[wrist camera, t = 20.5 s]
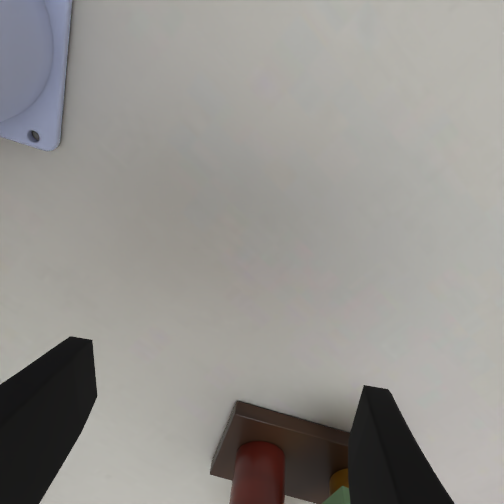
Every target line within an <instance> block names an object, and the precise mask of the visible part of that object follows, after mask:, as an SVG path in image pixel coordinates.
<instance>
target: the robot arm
mask: <svg viewBox="0 0 504 504" xmlns="http://www.w3.org/2000/svg"><path fill="white" fill-rule="evenodd" d="M71 10H72V0H0V137H2V138H6V139H9V140H12V141H15V142H18V143H21V144H25V145H28V146H31V147H34V148H37V149H41V150H44V151H52V150H54V149H56V148H57V147H58V146H59V144H60V137H61V126H62V114H63V103H64V91H65V79H66V68H67V56H68V45H69V33H70V21H71ZM32 130H33V131H35V132H37V133H38V135H39V138H40V139H39V140H37V139H35V138H34V137H33V135H32ZM96 398H97V388H96V377H95V366H94V355H93V344H92V340H89V339H83V338H77V337H71V336H70V337H69V338H67V339H66V340H64V341H63V342H61V343H60V344H58V345H57V346H56V347H54V348H53V349H51V350H50V351H48V352H47V353H46V354H44V355H43V356H41V357H40V358H38V359H37V360H36V361H34V362H33V363H31V364H30V365H28V366H27V367H26V368H24V369H23V370H21V371H20V372H18V373H17V374H15V375H14V376H12V377H11V378H9V379H8V380H7V381H5V382H4V383H2V384H1V385H0V504H39V503H40V501H41V500H42V498H43V496H44V495H45V493H46V491H47V490H48V488H49V486H50V485H51V483H52V481H53V479H54V478H55V476H56V474H57V473H58V471H59V469H60V468H61V466H62V464H63V463H64V461H65V459H66V458H67V456H68V454H69V453H70V451H71V449H72V447H73V446H74V444H75V442H76V441H77V439H78V437H79V435H80V434H81V432H82V430H83V428H84V425H85V423H86V421H87V419H88V417H89V414H90V412H91V410H92V407H93V405H94V403H95V400H96ZM348 484H349V494H350V504H454V502H453V501H452V499H451V498H450V496H449V494H448V493H447V491H446V490H445V488H444V487H443V485H442V484H441V482H440V481H439V479H438V477H437V476H436V474H435V473H434V471H433V469H432V468H431V466H430V464H429V463H428V461H427V459H426V458H425V456H424V454H423V452H422V451H421V449H420V447H419V446H418V444H417V442H416V440H415V438H414V437H413V435H412V433H411V431H410V429H409V427H408V426H407V424H406V422H405V420H404V418H403V416H402V414H401V412H400V410H399V408H398V406H397V404H396V402H395V400H394V398H393V396H392V394H391V393H390V391H389V390H388V389H383V388H377V387H371V386H365V385H364V387H363V390H362V394H361V397H360V401H359V404H358V408H357V411H356V415H355V418H354V422H353V425H352V429H351V432H350V436H349V439H348Z"/></svg>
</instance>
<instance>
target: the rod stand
mask: <svg viewBox="0 0 504 504" xmlns="http://www.w3.org/2000/svg"><path fill="white" fill-rule="evenodd" d="M349 436H350V433H348V432H344V431H341V430H337V429H333V428H330V427H326V426H323V425H319V424H316V423H312V422H309V421H305V420H302V419H298V418H295V417H291V416H288V415H284V414H281V413H277V412H274V411H270V410H267V409H263V408H260V407H256V406H253V405H249V404H246V403H242V402H239V401H237V402H236V404H235V407H234V409H233V411H232V414H231V416H230V419H229V421H228V423H227V426H226V428H225V431H224V433H223V436H222V438H221V440H220V443H219V445H218V448H217V450H216V453H215V455H214V457H213V460H212V464H211V469H210V475H214V476H218V477H221V478H225V479H229V480H232V488H231V496H230V503H229V504H284V495H287V496H291V497H294V498H298V499H302V500H305V501H309V502H313V503H316V504H322V503H323V502H324V501H325V500H326V499H328V498H329V497H330V496H331V495H332V494H333V493H335V492H336V491H337V490H338V489H339V488H340V487H341V486H345V487H347V488H349V484H348V439H349Z"/></svg>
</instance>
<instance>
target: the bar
mask: <svg viewBox="0 0 504 504" xmlns="http://www.w3.org/2000/svg"><path fill="white" fill-rule="evenodd" d="M322 504H350V494H349V488H347V487H345V486H341V487H340V488H339V489H338V490H337V491H336V492H335V493H333V494H332V495H331V496H330V497H329V498H328V499H326V500H325V501H324V502H323V503H322Z"/></svg>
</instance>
